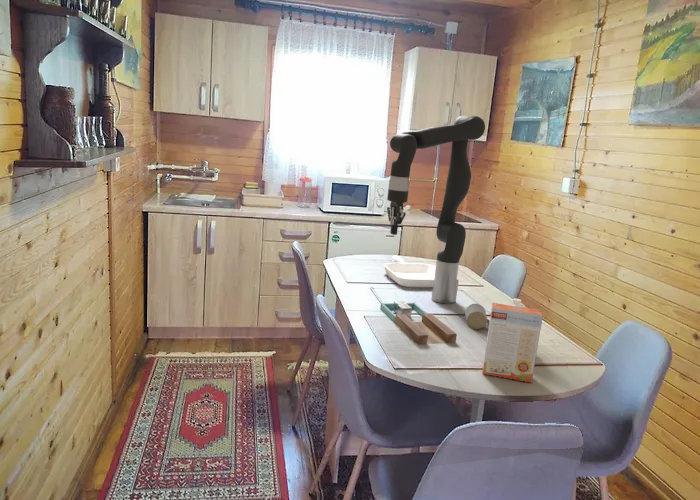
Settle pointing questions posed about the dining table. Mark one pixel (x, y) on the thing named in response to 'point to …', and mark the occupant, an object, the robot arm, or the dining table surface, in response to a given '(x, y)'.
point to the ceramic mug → (476, 316)
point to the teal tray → (387, 309)
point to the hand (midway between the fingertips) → (393, 234)
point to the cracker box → (512, 342)
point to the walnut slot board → (426, 329)
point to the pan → (410, 273)
